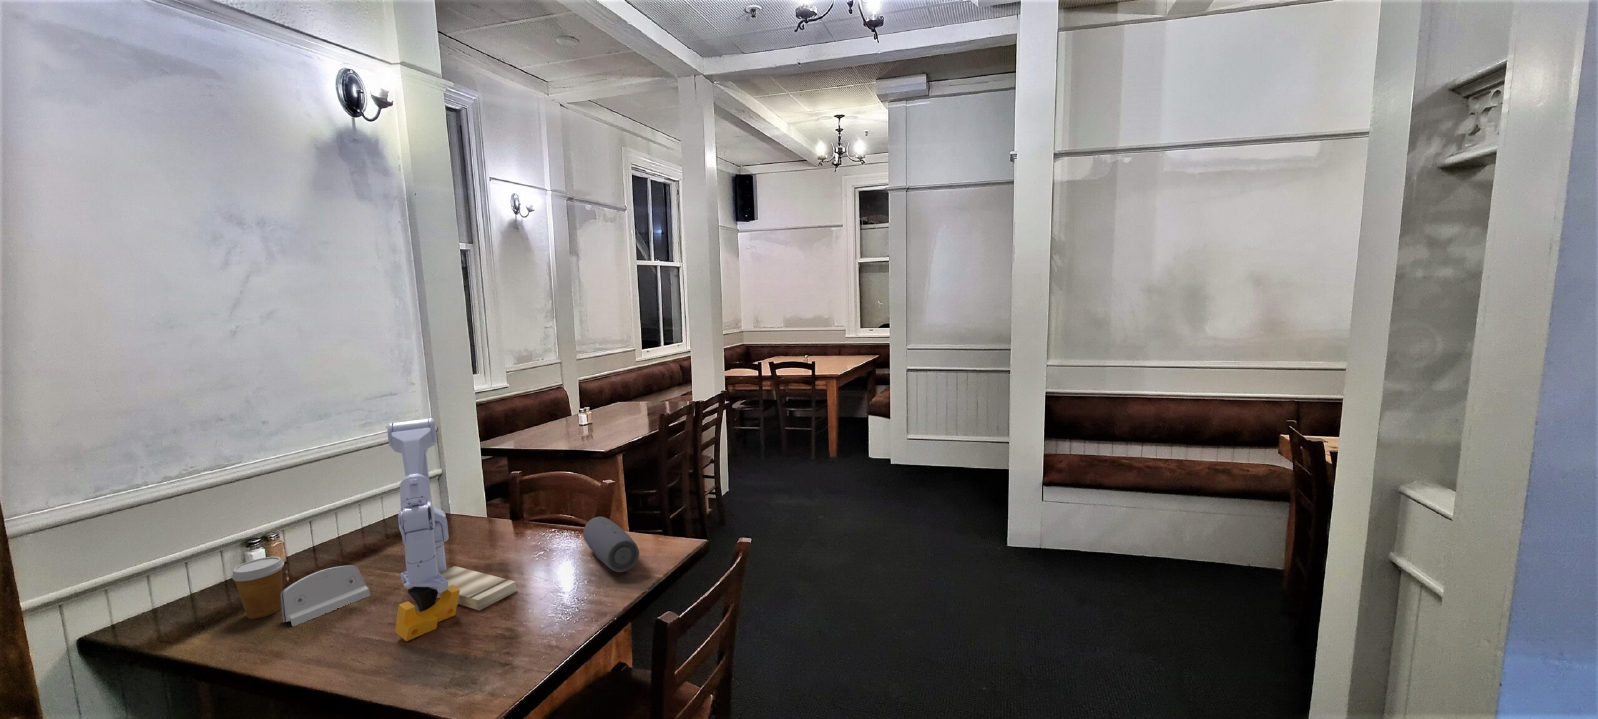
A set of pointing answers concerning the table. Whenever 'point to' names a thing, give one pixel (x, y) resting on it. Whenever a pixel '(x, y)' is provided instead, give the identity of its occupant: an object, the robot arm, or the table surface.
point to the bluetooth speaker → (611, 544)
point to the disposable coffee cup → (260, 586)
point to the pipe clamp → (425, 615)
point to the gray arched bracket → (322, 593)
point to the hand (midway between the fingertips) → (428, 615)
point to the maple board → (477, 587)
